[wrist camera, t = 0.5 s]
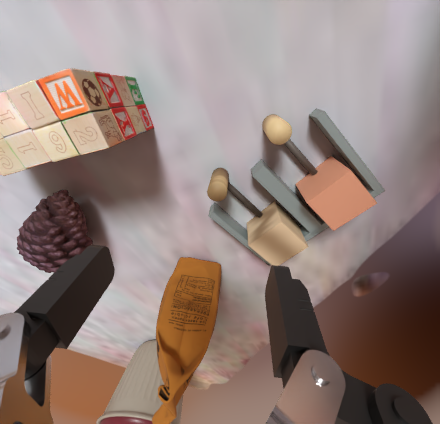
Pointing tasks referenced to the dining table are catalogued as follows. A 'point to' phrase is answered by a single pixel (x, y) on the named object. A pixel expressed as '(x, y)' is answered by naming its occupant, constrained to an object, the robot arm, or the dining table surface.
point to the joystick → (323, 181)
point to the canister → (138, 391)
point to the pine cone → (53, 233)
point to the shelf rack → (288, 198)
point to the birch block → (263, 224)
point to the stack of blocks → (68, 117)
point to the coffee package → (184, 329)
